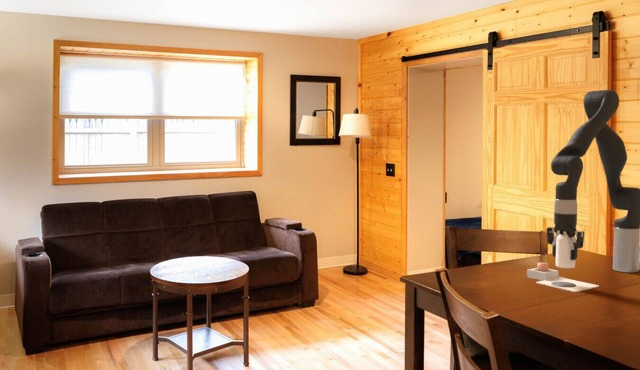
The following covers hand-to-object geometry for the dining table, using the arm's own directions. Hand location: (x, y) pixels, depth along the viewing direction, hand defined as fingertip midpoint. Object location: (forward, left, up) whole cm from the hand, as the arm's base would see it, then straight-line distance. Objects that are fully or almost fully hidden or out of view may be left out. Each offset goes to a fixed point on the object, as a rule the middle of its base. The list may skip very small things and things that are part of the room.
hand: (564, 258), depth 219 cm
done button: (-4, -12, -8) cm, 15 cm away
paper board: (-2, 0, -10) cm, 10 cm away
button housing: (-4, -12, -10) cm, 16 cm away
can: (-1, 0, -3) cm, 4 cm away
